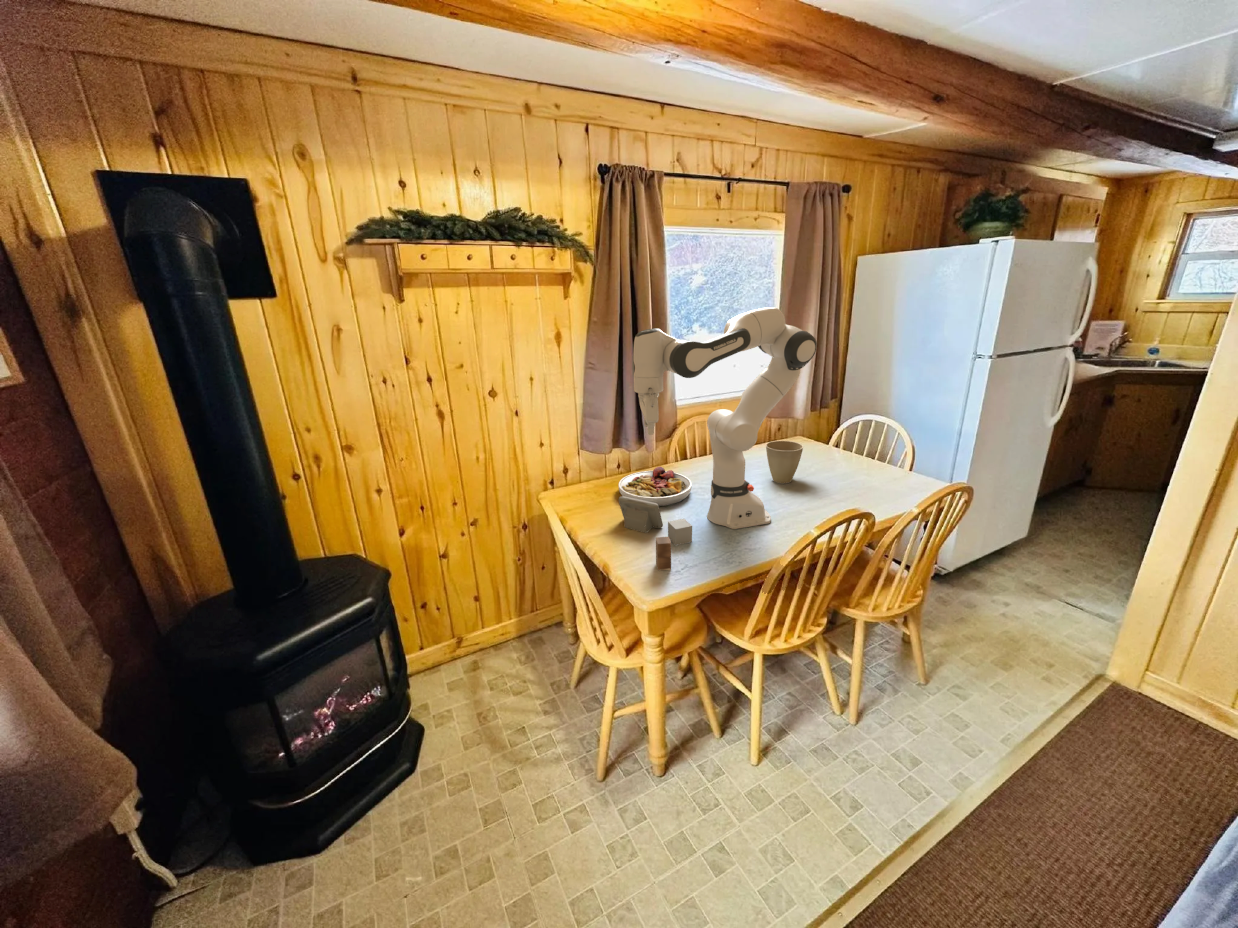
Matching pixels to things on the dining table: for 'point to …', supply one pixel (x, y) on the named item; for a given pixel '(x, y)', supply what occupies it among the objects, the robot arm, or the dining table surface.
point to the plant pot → (783, 459)
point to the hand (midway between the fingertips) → (648, 430)
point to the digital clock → (640, 514)
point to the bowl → (656, 486)
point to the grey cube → (680, 531)
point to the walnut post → (663, 553)
